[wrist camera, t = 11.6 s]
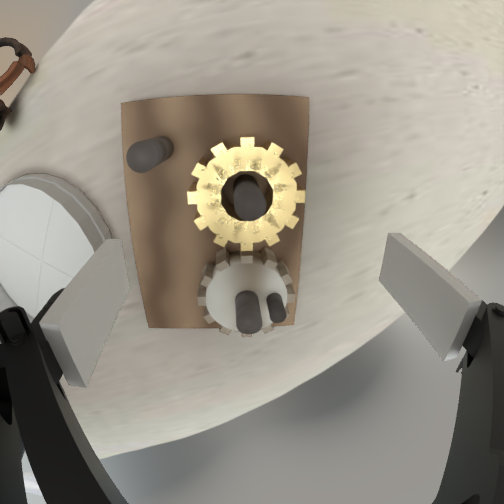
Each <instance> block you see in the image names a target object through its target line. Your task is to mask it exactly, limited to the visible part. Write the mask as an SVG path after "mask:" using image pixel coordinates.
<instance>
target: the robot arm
mask: <svg viewBox="0 0 504 504" xmlns="http://www.w3.org/2000/svg"><path fill="white" fill-rule="evenodd" d="M379 281H380V282H381V284H382V285H383V286H384V287H385V288H386V289H387V291H388V292H389V293H390V294H391V295H392V297H393V298H394V299H395V300H396V301H397V303H398V304H399V305H400V306H401V307H402V309H403V310H404V311H405V312H406V314H407V315H408V316H409V317H410V318H411V320H412V321H413V322H414V323H415V325H416V326H417V327H418V328H419V330H420V331H421V332H422V334H423V335H424V336H425V338H426V339H427V340H428V341H429V343H430V344H431V345H432V347H433V348H434V349H435V351H436V352H437V353H438V355H439V356H440V357H441V359H442V360H443V361H446V360H450V359H453V358H456V357H457V355H458V353H459V351H460V349H461V347H462V345H463V347H464V348H465V349H466V350H467V351H466V353H465V355H464V357H463V358H462V361H461V362H460V364H459V366H458V368H457V370H456V372H458V371H459V370H460V369H461V368H462V372H461V374H462V379H461V389H460V396H459V404H458V411H457V417H456V423H455V428H454V433H453V438H452V443H451V448H450V452H449V456H448V460H447V464H446V468H445V472H444V475H443V478H442V482H441V485H440V489H439V491H438V494H437V497H436V499H435V500H434V502H433V503H432V504H504V306H502V305H500V304H498V303H489V304H488V305H487V304H486V303H485V302H484V301H482V300H481V299H480V298H479V297H478V296H477V295H476V294H475V293H474V292H472V291H471V290H470V289H469V288H468V287H467V286H465V285H464V284H463V283H462V282H461V281H460V280H459V279H457V278H456V277H455V276H454V275H453V274H451V273H450V272H449V271H448V270H447V269H445V268H444V267H443V266H442V265H441V264H439V263H438V262H437V261H436V260H434V259H433V258H432V257H431V256H429V255H428V254H427V253H426V252H424V251H423V250H422V249H420V248H419V247H418V246H417V245H415V244H414V243H413V242H411V241H410V240H409V239H407V238H406V237H405V236H403V235H402V234H401V233H388V237H387V242H386V248H385V253H384V258H383V263H382V268H381V272H380V277H379ZM129 291H130V285H129V280H128V275H127V270H126V265H125V259H124V254H123V248H122V242H121V238H120V239H106V240H105V242H104V243H103V244H102V245H101V246H100V247H99V248H98V249H97V251H96V252H95V253H94V254H93V255H92V256H91V257H90V259H89V260H88V261H87V262H86V263H85V265H84V266H83V267H82V268H81V269H80V270H79V272H78V273H77V274H76V275H75V277H74V278H73V279H72V280H71V281H70V283H69V284H68V285H67V286H66V288H62V289H60V290H59V291H57V292H56V293H55V294H53V295H52V296H51V298H50V299H49V300H48V301H47V304H45V305H44V307H43V308H42V310H40V312H39V313H38V314H37V316H36V317H35V318H34V320H33V321H32V322H31V323H30V321H29V319H28V316H27V314H26V311H25V310H24V308H22V307H20V306H13V307H10V308H7V309H5V310H3V311H1V312H0V341H1V343H2V344H0V504H27V498H26V493H25V486H24V480H23V472H22V463H21V460H22V457H23V454H24V452H25V451H26V454H27V456H28V460H29V462H30V465H31V468H32V471H33V473H34V476H35V478H36V481H37V483H38V485H39V488H40V490H41V492H42V495H43V497H44V499H45V501H46V503H47V504H128V503H127V501H126V500H125V499H124V497H123V496H122V494H121V493H120V492H119V490H118V489H117V488H116V486H115V484H114V483H113V481H112V480H111V478H110V477H109V475H108V474H107V472H106V471H105V469H104V467H103V466H102V464H101V462H100V461H99V459H98V457H97V456H96V454H95V452H94V450H93V449H92V447H91V445H90V443H89V442H88V440H87V438H86V436H85V434H84V432H83V430H82V428H81V426H80V424H79V422H78V420H77V418H76V416H75V414H74V412H73V410H72V408H71V406H70V404H69V401H68V399H67V397H66V395H65V392H64V390H63V388H62V386H61V384H60V382H59V380H60V378H61V376H62V374H63V375H64V377H65V379H66V380H67V382H68V384H69V385H73V386H79V387H86V388H87V386H88V383H89V381H90V378H91V376H92V373H93V371H94V368H95V366H96V363H97V361H98V358H99V356H100V354H101V351H102V349H103V347H104V344H105V342H106V340H107V338H108V335H109V333H110V331H111V329H112V327H113V324H114V322H115V320H116V318H117V316H118V314H119V311H120V309H121V307H122V305H123V303H124V301H125V299H126V297H127V295H128V293H129Z"/></svg>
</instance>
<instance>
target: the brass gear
mask: <svg viewBox="0 0 504 504" xmlns="http://www.w3.org/2000/svg"><path fill="white" fill-rule="evenodd" d="M283 150H284V149H282V148H281V147H279V146H277V145H276V144H274V143H272V142H270V141H268V140H266V141H265V143H264V145H263V146H262V147H261V146H260V145H258V144H254V137H252V136H239V144H232V145H230V146H228V147H227V145H226V144H225V142H224V140H222V141H220V142H219V143H217V144H215V145H214V146H213V147H212V148H211V151H212V152H213V154H214V155H213V156H212V157H211V159H210V161H208V160H206V159H204V158H201V159H200V160H199V162H198V163H197V165H196V167H195V168H194V170H193V172H192V175H194V176H196V177H198V178H199V181H198V182H193V183H192V185H191V186H190V188H189V190H188V192H187V194H188V204H197V206H198V209H197V212H196V215H195V218H194V222H195V223H196V225H197V226H198V228H199V229H200V231H201V230H203V229H204V228H206V227H209V228H210V230H211V231H212V232H214V239H213V242H214V243H216V244H218V245H220V246H222V247H225V245H226V243H227V242H228V240H229V241H231V242H233V243H240V249H241V251H253V243H258V242H261V241H263V240H266V242H267V243H268V245H269V246H271V245H273V244H275V243H277V242H279V241H280V239H279V237H278V234H277V233H278V232H280V231H281V230H282V229H283V228H284V226H285V225H286V226H288V227H290V228H292V229H293V228H294V226H295V225H296V223H297V222H298V220H299V218H298V216H297V215H296V213H295V212H294V211H295V209H296V203H305V192H306V191H305V190H304V189H303V188H302V187H301V186H300V185H299V184H298V183H297V182H296V181H295V179H294V178H295V177H297V176H299V175H300V174H302V173H301V171H300V169H299V167H298V165H297V163H296V162H295V161H293V160H291V159H290V158H288V157H286V158H284V159H281V158H280V157H279V156H280V155H281V153H282V151H283ZM239 171H256V172H257V173H259V174H261V175H263V176H264V177H266V179H267V193H266V195H265V197H264V198H265V200H266V210H265V212H264V214H263V215H262V216H261V217H260V218H259V219H257V220H254V221H246V220H243V219H241V218H240V217H239V216H238V215H237V214H236V212H235V209H234V206H233V205H231V204H229V203H228V202H227V200H226V199H225V197H224V195H223V194H222V187H223V185H224V184H225V182H226V180H227V178H229V177H230V176H232V175H234V174H236V173H237V172H239Z"/></svg>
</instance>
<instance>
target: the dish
mask: <svg viewBox="0 0 504 504" xmlns="http://www.w3.org/2000/svg"><path fill="white" fill-rule="evenodd" d="M106 239H112V237H111V234H110V231H109V229H108V227H107V225H106V224H105V222H104V220H103V218H102V217H101V215H100V213H99V212H98V210H97V208H96V207H95V206H94V205H93V204H92V203H91V202H90V201H89V199H88V198H87V197H86V196H85V195H84V194H83V193H82V192H81V191H80V190H79V189H77V188H76V187H74V186H73V185H71V184H70V183H68V182H67V181H65V180H64V179H62V178H58V177H55V176H52V175H48V174H45V173H42V174H27V175H25V176H22V177H20V178H17V179H15V180H13V181H11V182H9V183H6V184H4V185H3V186H2V187H0V312H1V311H3V310H5V309H7V308H10V307H13V306H20V307H22V308H24V310H25V311H26V314H27V316H28V319H29V321H30V323H31V322H32V321H33V320H34V318H35V317H36V316H37V314H38V313H39V312H40V310H42V308H43V307H44V305H45V304H47V301H48V300H49V299H50V298H51V296H52V295H53V294H55V293H56V292H57V291H59V290H60V289H62V288H66V286H67V285H68V284H69V283H70V281H71V280H72V279H73V278H74V277H75V275H76V274H77V273H78V272H79V270H80V269H81V268H82V267H83V266H84V265H85V263H86V262H87V261H88V260H89V259H90V257H91V256H92V255H93V254H94V253H95V252H96V251H97V249H98V248H99V247H100V246H101V245H102V244H103V243H104V242H105V240H106Z"/></svg>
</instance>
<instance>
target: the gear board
mask: <svg viewBox="0 0 504 504" xmlns="http://www.w3.org/2000/svg"><path fill="white" fill-rule="evenodd" d="M121 119H122V145H123V161H124V174H125V186H126V196H127V205H128V214H129V222H130V229H131V236H132V243H133V250H134V256H135V262H136V268H137V273H138V279H139V284H140V289H141V294H142V299H143V304H144V309H145V313H146V318H147V322H148V327H149V328H220V332H222V333H225V334H227V335H229V334H230V332H231V331H232V330H234V331H240V332H241V333H242V337H252V334H254V333H256V332H258V331H259V330H260V329H262V330H263V332H264V333H268V332H270V331H272V330H274V328H273V326H286V325H294V320H295V311H296V302H297V292H298V282H299V271H300V260H301V248H302V236H303V223H304V208H305V203H296V209H295V211H294V212H295V213H296V215H297V216H298V218H299V220H298V222H297V223H296V225H295V226H294V228H293V229H292V228H290V227H288V226H286V225H285V226H284V228H283V229H282V230H281V231H280V232H278V233H277V234H278V237H279V239H280V241H279V242H277V243H275V244H273V245H271V246H269V245H268V243H267V242H266V240H263V241H261V242H258V243H253V251H241V249H240V243H233V242H231V241H229V240H228V242H227V243H226V245H225V247H222V246H220V245H218V244H216V243H214V242H213V239H214V232H212V231H211V230H210V228H209V227H206V228H204V229H203V230H201V231H200V229H199V228H198V226H197V225H196V223H195V222H194V218H195V215H196V212H197V209H198V206H197V204H188V194H187V192H188V190H189V188H190V186H191V185H192V183H193V182H198V181H199V178H198V177H196V176H194V175H192V172H193V170H194V168H195V167H196V165H197V163H198V162H199V160H200V159H201V158H204V159H206V160H208V161H210V159H211V157H212V156H213V155H214V154H213V152H212V151H211V148H212V147H213V146H214V145H215V144H217V143H219V142H220V141H222V140H224V142H225V144H226V145H227V147H228V146H230V145H232V144H239V136H252V137H254V144H258V145H260V146H261V147H262V146H263V145H264V143H265V141H266V140H268V141H270V142H272V143H274V144H276V145H277V146H279V147H281V148H282V149H284V150H283V151H282V153H281V155H280V156H279V157H280V158H281V159H284V158H286V157H288V158H290V159H291V160H293V161H295V162H296V163H297V165H298V167H299V169H300V171H301V173H302V174H300V175H299V176H297V177H295V178H294V179H295V181H296V182H297V183H298V184H299V185H300V186H301V187H302V188H303V189H304V190H305V191H306V175H307V154H308V128H309V97H299V96H284V95H260V94H218V95H194V96H179V97H167V98H157V99H148V100H139V101H132V102H125V103H121ZM266 193H267V179H266V177H264V176H263V175H261V174H259V173H257V172H256V171H239V172H237V173H236V174H234V175H232V176H230V177H229V178H227V180H226V182H225V184H224V185H223V187H222V194H223V195H224V197H225V199H226V200H227V202H228V203H229V204H231V205H233V206H234V209H235V212H236V214H237V215H238V216H239V217H240V218H241V219H243V220H246V221H254V220H257V219H259V218H260V217H261V216H262V215H263V214H264V212H265V210H266V200H265V198H264V197H265V195H266Z"/></svg>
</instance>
